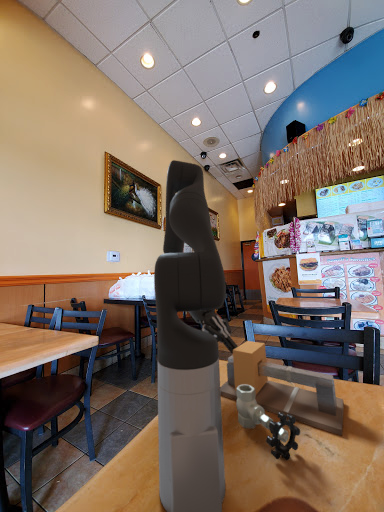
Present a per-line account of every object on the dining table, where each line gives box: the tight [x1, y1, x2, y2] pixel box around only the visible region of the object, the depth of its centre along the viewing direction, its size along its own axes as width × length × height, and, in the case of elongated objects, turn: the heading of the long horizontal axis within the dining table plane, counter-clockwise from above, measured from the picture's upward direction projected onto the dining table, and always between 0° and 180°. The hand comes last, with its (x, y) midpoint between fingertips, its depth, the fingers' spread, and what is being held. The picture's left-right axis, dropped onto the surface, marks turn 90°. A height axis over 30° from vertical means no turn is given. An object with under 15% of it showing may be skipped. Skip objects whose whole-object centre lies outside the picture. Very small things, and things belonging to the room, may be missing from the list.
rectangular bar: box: [226, 355, 337, 416], centre depth 51 cm, size 24×4×7 cm, turn 53°
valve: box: [235, 384, 301, 461], centre depth 39 cm, size 7×7×12 cm
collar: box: [232, 340, 269, 395], centre depth 54 cm, size 5×10×10 cm, turn 143°
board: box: [220, 379, 345, 436], centre depth 50 cm, size 26×12×1 cm, turn 53°
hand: (235, 350), depth 57 cm, fingers closed
